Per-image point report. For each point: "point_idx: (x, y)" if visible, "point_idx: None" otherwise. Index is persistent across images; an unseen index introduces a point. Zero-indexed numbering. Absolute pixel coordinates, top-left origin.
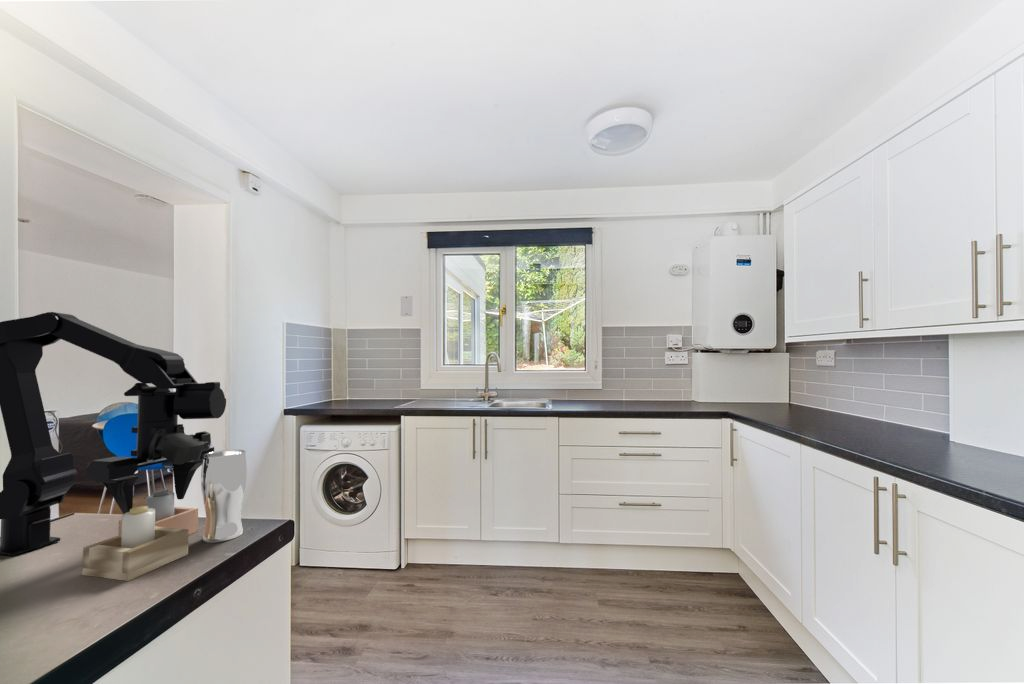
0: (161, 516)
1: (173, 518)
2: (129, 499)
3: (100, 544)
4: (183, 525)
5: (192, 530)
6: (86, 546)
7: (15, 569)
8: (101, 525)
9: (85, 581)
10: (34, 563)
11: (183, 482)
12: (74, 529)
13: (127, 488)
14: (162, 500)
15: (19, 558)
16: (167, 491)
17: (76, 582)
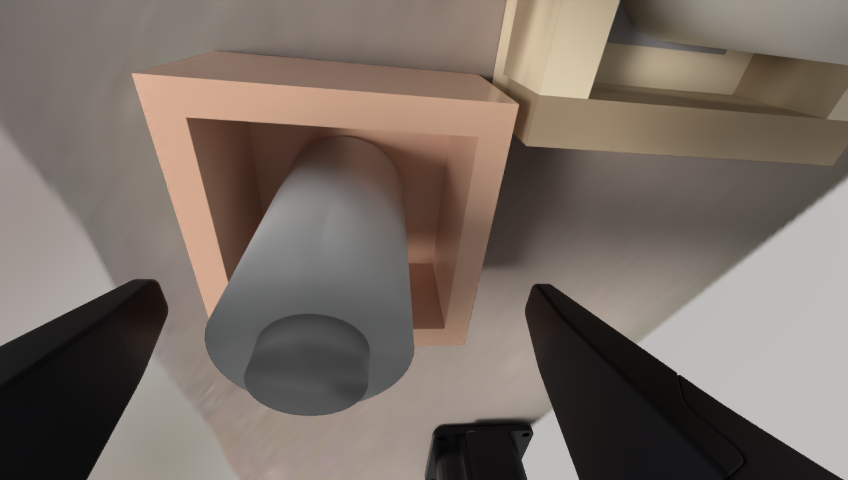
0: (377, 197)
1: (371, 90)
2: (638, 360)
3: (817, 117)
4: (300, 69)
5: (247, 55)
6: (825, 162)
7: None
8: (312, 447)
9: None
10: None
11: (25, 405)
12: (355, 467)
13: (788, 468)
14: (367, 265)
15: (540, 404)
16: (274, 342)
17: None
